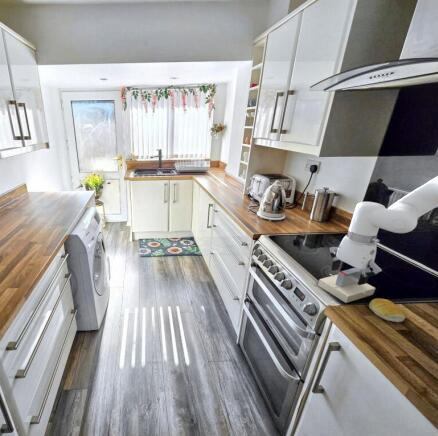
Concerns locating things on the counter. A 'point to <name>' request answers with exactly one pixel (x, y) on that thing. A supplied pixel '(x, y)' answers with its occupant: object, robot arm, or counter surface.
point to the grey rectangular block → (348, 277)
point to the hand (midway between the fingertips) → (347, 276)
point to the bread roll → (387, 310)
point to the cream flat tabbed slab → (346, 289)
